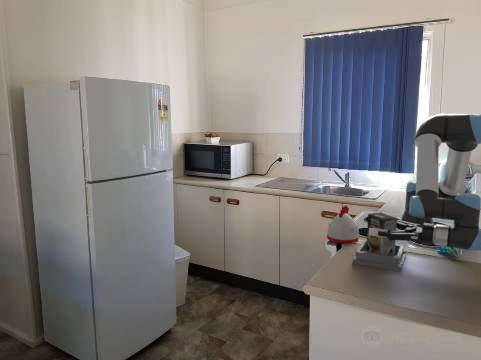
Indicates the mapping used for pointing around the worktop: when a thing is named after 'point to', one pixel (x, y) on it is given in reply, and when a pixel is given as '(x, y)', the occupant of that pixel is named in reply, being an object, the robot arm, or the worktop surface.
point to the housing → (380, 258)
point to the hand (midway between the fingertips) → (372, 226)
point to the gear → (451, 249)
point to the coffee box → (381, 243)
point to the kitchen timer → (343, 228)
